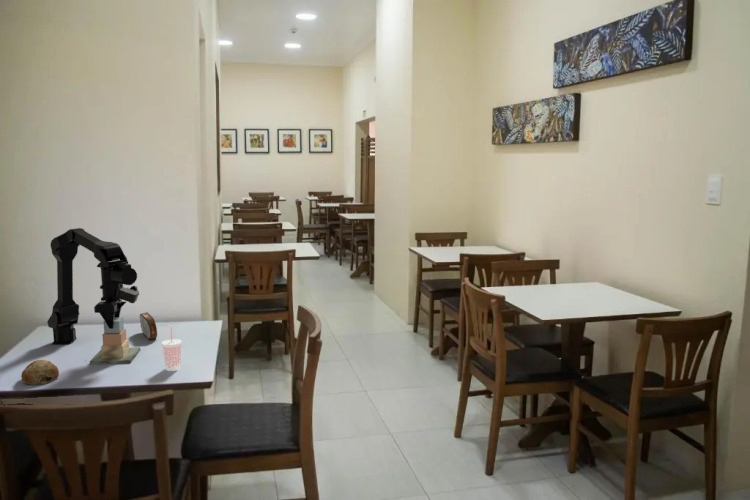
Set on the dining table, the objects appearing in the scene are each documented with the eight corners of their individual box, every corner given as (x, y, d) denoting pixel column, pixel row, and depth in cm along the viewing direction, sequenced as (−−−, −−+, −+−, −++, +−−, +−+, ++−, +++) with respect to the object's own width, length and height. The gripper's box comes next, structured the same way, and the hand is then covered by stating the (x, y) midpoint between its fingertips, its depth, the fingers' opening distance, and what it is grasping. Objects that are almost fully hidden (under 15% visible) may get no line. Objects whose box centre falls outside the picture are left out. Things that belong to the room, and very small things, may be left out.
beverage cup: (175, 363, 206) (173, 323, 203) (186, 367, 202) (184, 326, 199) (159, 368, 201) (157, 327, 198) (170, 373, 197) (167, 331, 195)
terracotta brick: (103, 346, 207) (102, 334, 207) (108, 340, 213) (107, 329, 212) (121, 345, 208) (121, 334, 207) (126, 339, 214) (125, 328, 213)
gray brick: (104, 333, 207) (103, 321, 206) (108, 328, 212) (107, 317, 211) (119, 332, 208) (119, 321, 207) (123, 328, 213) (123, 317, 212)
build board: (89, 364, 204) (88, 349, 203) (102, 351, 217) (101, 337, 216) (130, 362, 206) (129, 348, 205) (140, 350, 219) (139, 336, 218)
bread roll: (30, 398, 186) (35, 377, 183) (12, 378, 190) (16, 357, 187) (62, 387, 194) (66, 367, 191) (44, 368, 198) (48, 348, 195)
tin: (158, 340, 229) (157, 318, 228) (149, 342, 228) (148, 320, 226) (147, 330, 242) (146, 309, 240) (139, 331, 240) (138, 310, 238)
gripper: (128, 287, 199) (131, 333, 201) (142, 275, 217) (145, 317, 220) (92, 287, 197) (95, 334, 200) (109, 275, 216) (112, 318, 218)
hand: (113, 326), depth 210 cm, fingers open, 5 cm apart
